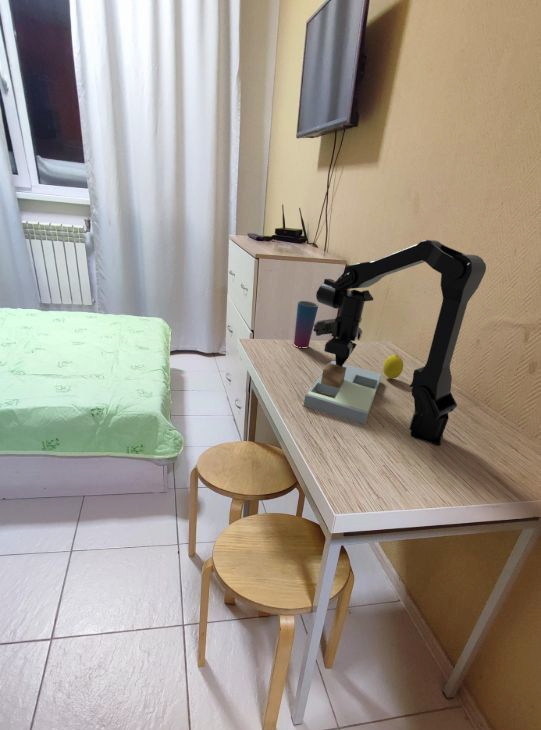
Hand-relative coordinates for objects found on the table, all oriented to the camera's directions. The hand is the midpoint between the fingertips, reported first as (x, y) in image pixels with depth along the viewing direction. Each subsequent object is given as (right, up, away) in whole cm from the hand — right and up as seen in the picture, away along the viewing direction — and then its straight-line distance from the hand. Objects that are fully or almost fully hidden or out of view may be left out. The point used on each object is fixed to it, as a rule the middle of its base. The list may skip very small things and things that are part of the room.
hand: (338, 368), depth 104 cm
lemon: (+17, -3, +10) cm, 20 cm away
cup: (-8, +7, +26) cm, 29 cm away
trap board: (+2, -6, -2) cm, 7 cm away
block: (-2, -3, -3) cm, 5 cm away
